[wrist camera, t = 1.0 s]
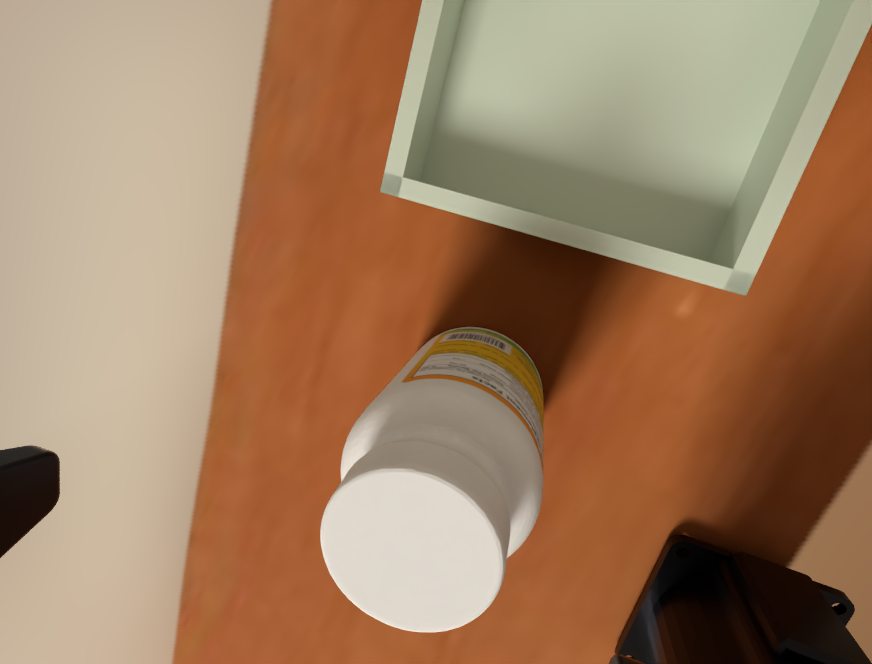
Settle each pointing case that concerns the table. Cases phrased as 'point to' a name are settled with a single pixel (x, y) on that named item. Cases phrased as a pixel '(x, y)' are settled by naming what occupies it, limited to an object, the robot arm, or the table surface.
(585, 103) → the tray
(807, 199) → the table surface
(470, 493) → the supplement bottle
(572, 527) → the table surface
